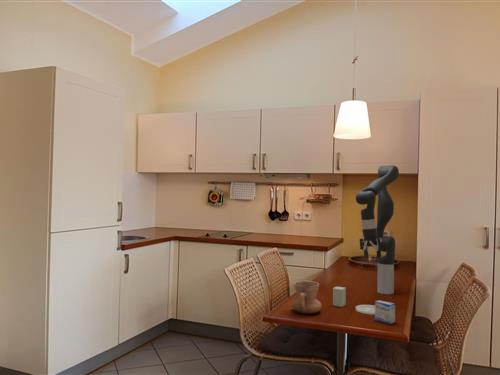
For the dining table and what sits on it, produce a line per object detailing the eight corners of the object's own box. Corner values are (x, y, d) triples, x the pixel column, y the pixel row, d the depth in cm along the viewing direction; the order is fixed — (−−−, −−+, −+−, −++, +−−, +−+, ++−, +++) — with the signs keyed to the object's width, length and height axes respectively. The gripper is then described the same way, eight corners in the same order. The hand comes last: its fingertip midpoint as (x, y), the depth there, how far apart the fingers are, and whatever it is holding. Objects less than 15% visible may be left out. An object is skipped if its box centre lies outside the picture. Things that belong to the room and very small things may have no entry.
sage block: (336, 303, 220) (336, 286, 220) (345, 304, 217) (345, 287, 217) (332, 305, 216) (333, 288, 216) (342, 307, 213) (342, 289, 213)
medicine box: (374, 320, 192) (374, 301, 192) (379, 318, 195) (379, 299, 195) (390, 324, 187) (390, 305, 187) (395, 322, 190) (395, 303, 190)
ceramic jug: (298, 305, 215) (298, 278, 215) (325, 308, 209) (325, 280, 209) (286, 315, 199) (285, 286, 199) (315, 319, 193) (315, 289, 193)
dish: (360, 305, 216) (360, 303, 216) (385, 309, 209) (385, 307, 209) (352, 311, 205) (352, 309, 205) (378, 316, 198) (378, 313, 198)
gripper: (384, 226, 222) (388, 257, 221) (363, 227, 233) (367, 256, 233) (374, 228, 217) (378, 259, 217) (354, 228, 229) (358, 258, 229)
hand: (372, 257), depth 225 cm, fingers open, 8 cm apart
